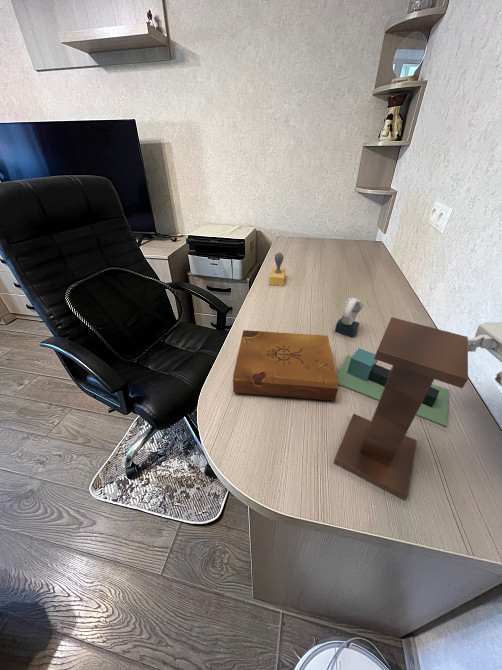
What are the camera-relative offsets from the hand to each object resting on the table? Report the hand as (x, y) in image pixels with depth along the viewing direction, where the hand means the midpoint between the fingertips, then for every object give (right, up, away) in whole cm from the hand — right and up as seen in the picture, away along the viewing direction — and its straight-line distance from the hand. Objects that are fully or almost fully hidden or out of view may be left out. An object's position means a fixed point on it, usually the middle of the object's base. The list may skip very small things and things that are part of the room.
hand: (479, 361), depth 46 cm
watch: (-8, +5, +40) cm, 42 cm away
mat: (-4, -8, +21) cm, 23 cm away
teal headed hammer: (-4, -8, +21) cm, 23 cm away
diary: (-29, -5, +25) cm, 39 cm away
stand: (-14, -18, +7) cm, 24 cm away
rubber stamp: (-26, +27, +72) cm, 81 cm away
